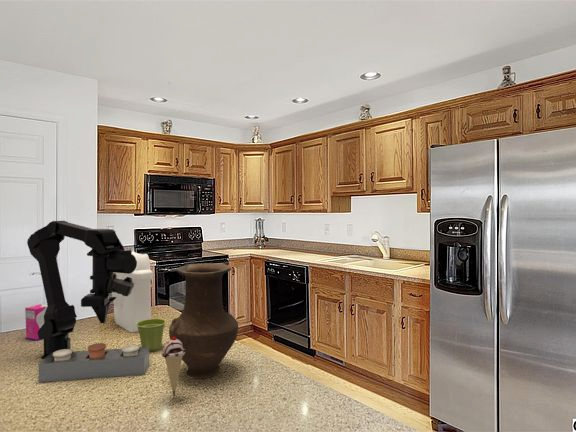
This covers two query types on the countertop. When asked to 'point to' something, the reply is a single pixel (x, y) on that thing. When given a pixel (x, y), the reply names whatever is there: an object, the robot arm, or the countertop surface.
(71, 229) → the robot arm
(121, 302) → the white plastic jug
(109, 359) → the socket block
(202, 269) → the vase
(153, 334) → the plant pot
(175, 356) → the ice cream cone
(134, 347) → the ivory plug far
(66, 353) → the ivory plug near
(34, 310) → the supplement box
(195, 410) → the countertop surface
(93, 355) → the rust plug
